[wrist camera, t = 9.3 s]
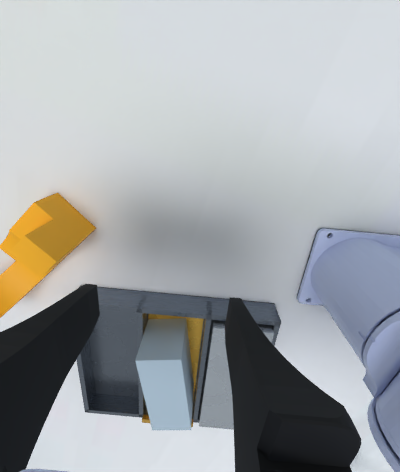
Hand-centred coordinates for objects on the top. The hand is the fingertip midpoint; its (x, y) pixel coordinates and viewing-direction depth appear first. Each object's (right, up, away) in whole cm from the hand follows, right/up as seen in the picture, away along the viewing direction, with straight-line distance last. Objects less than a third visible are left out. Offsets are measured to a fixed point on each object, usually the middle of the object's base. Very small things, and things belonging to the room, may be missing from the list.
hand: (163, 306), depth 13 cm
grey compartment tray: (-1, -10, +15) cm, 18 cm away
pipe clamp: (-13, +3, +11) cm, 17 cm away
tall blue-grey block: (-1, -9, +14) cm, 17 cm away
